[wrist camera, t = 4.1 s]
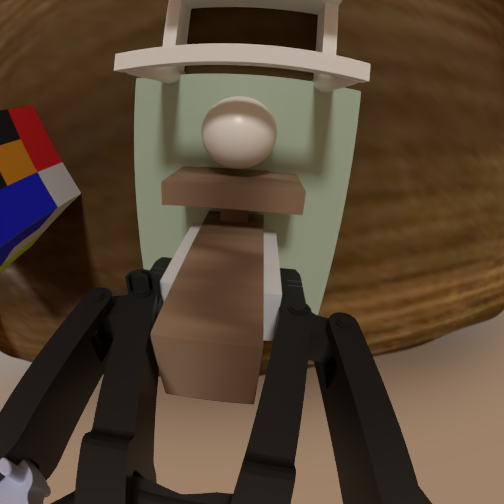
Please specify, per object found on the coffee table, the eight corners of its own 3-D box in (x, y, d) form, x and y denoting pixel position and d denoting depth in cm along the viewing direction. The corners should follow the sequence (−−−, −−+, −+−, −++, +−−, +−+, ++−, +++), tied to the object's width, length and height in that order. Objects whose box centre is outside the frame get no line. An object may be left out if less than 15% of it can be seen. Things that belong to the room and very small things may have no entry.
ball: (202, 177, 15) (188, 145, 11) (211, 120, 16) (203, 80, 12) (271, 182, 15) (279, 151, 11) (275, 124, 16) (282, 84, 12)
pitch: (157, 311, 24) (130, 374, 18) (154, 2, 12) (103, -38, 5) (309, 324, 24) (320, 393, 18) (358, 12, 12) (405, -29, 5)
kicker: (184, 255, 19) (126, 384, 10) (182, 166, 16) (81, 247, 7) (283, 264, 19) (298, 405, 10) (296, 174, 16) (345, 271, 7)
